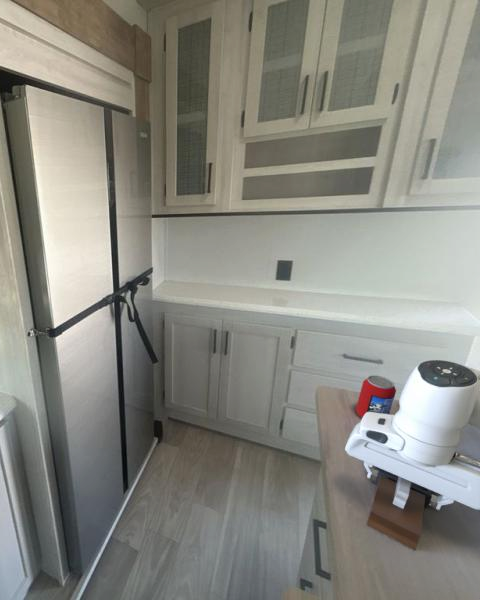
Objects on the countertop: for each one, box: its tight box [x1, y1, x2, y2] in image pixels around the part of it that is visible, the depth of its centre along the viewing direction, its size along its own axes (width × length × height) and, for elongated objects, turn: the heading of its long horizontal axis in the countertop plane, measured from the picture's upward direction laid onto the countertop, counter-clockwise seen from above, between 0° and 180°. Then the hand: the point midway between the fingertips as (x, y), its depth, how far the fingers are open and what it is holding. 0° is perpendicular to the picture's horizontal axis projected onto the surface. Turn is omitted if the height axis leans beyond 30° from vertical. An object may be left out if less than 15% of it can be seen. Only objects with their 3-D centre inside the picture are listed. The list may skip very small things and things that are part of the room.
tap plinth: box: [366, 476, 425, 551], centre depth 67 cm, size 11×7×4 cm, turn 133°
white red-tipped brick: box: [393, 477, 411, 509], centre depth 67 cm, size 8×2×4 cm, turn 133°
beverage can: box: [355, 375, 397, 419], centre depth 90 cm, size 7×7×12 cm
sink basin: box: [370, 466, 434, 509], centre depth 75 cm, size 14×9×4 cm, turn 133°
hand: (401, 491), depth 68 cm, fingers open, 8 cm apart
